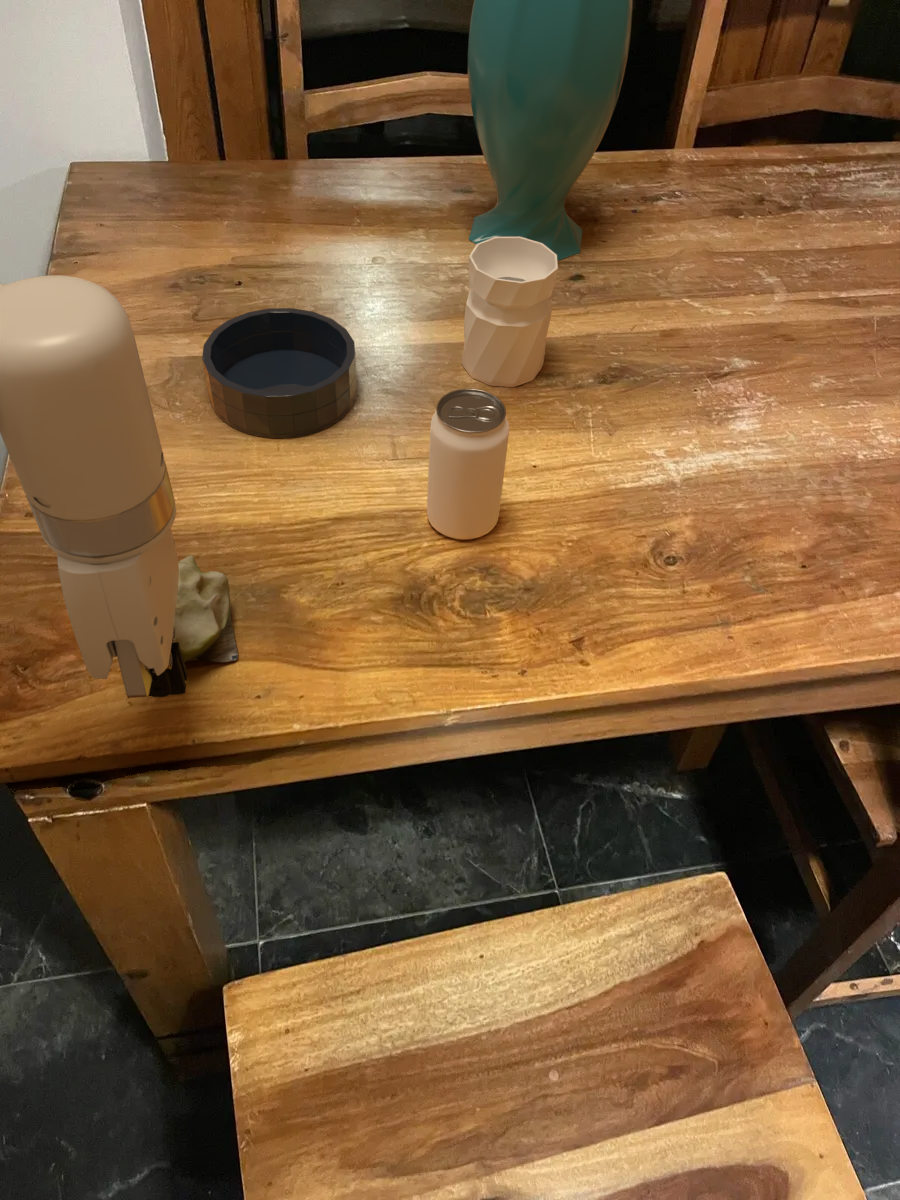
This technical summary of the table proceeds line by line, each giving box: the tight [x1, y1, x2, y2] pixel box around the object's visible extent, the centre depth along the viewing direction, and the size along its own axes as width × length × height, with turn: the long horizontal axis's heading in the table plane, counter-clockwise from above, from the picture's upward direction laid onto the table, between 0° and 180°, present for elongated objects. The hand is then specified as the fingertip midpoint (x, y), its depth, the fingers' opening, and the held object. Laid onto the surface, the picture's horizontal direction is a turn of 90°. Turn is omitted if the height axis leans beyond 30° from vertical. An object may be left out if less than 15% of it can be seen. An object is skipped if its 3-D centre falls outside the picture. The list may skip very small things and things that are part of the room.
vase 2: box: [461, 237, 559, 388], centre depth 95 cm, size 9×9×12 cm
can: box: [426, 388, 510, 541], centre depth 79 cm, size 6×6×12 cm
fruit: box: [172, 554, 239, 663], centre depth 71 cm, size 9×9×8 cm
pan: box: [201, 307, 357, 439], centre depth 93 cm, size 15×15×5 cm
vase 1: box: [467, 0, 633, 262], centre depth 106 cm, size 17×17×30 cm
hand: (164, 686), depth 67 cm, fingers closed
